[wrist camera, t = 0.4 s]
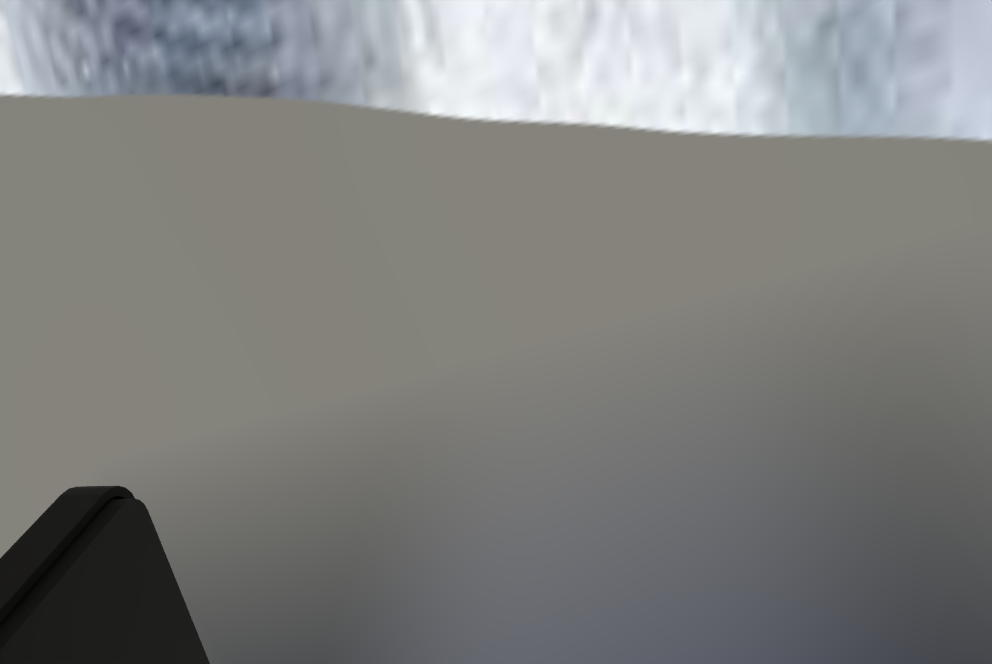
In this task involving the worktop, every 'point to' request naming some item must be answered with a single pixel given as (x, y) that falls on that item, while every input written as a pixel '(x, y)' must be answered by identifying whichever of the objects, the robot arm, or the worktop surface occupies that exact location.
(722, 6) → the worktop surface
